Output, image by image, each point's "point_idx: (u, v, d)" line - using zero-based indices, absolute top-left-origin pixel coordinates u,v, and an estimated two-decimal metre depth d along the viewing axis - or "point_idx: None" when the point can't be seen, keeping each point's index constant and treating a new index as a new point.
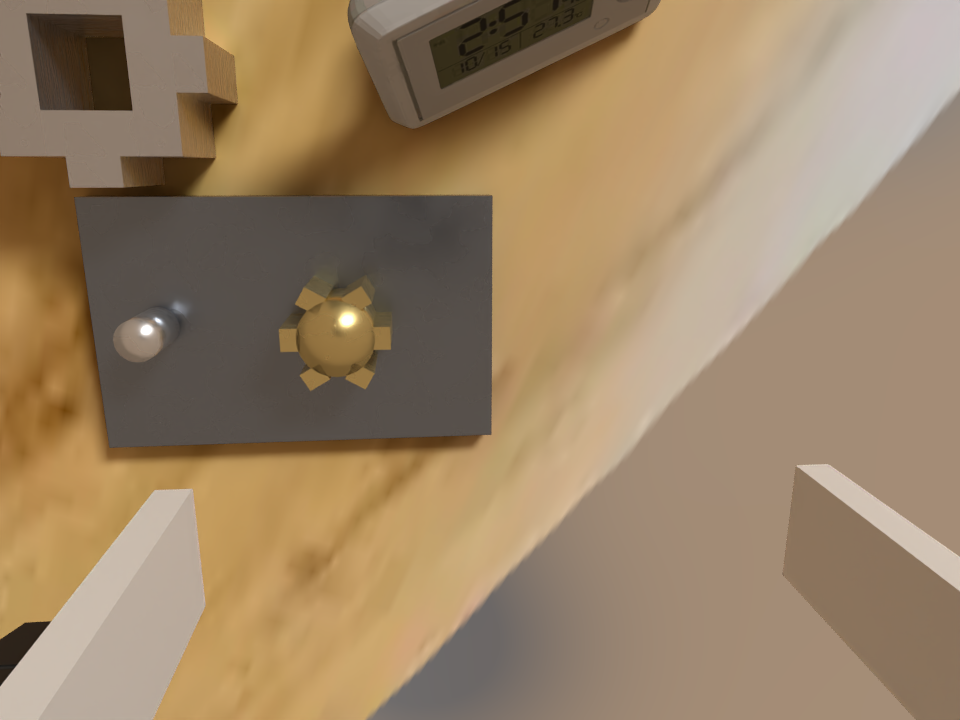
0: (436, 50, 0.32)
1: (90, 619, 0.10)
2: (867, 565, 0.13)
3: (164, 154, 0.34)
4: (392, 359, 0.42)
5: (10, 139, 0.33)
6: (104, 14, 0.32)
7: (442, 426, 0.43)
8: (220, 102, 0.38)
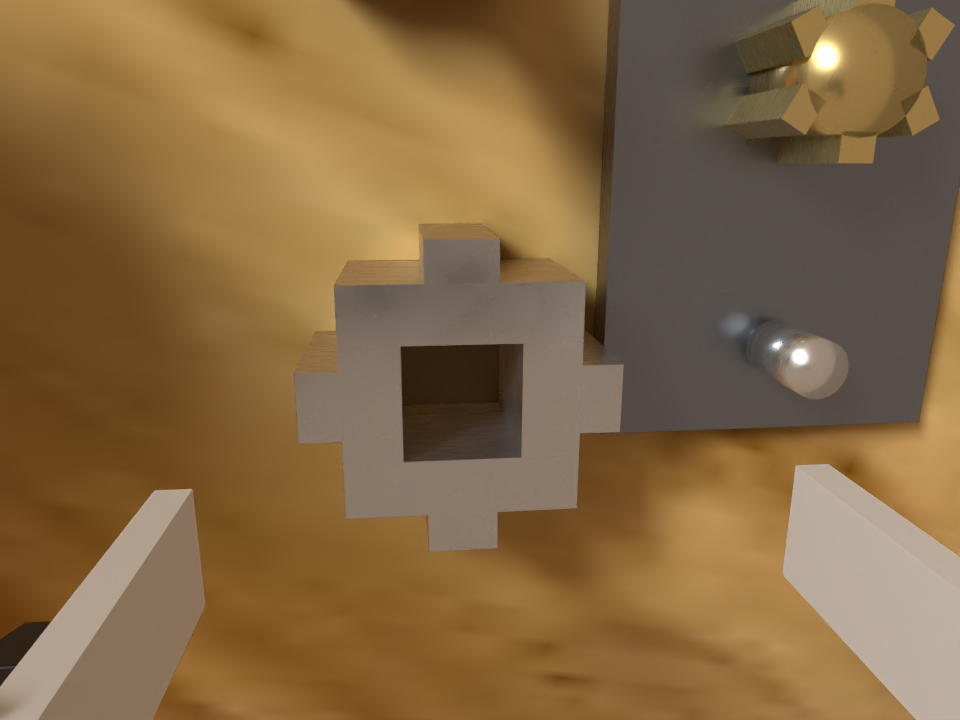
0: None
1: (90, 619, 0.10)
2: (867, 565, 0.13)
3: (582, 306, 0.23)
4: None
5: (556, 495, 0.25)
6: (400, 368, 0.23)
7: None
8: None
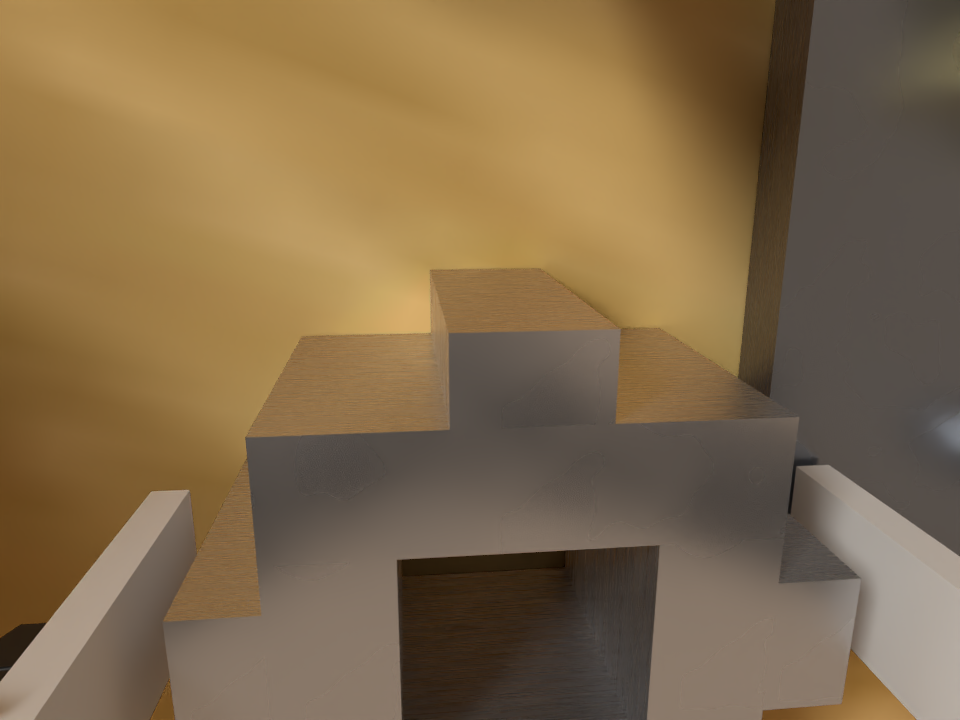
0: None
1: (85, 621, 0.10)
2: (869, 566, 0.13)
3: (788, 468, 0.11)
4: None
5: None
6: (396, 601, 0.11)
7: None
8: None
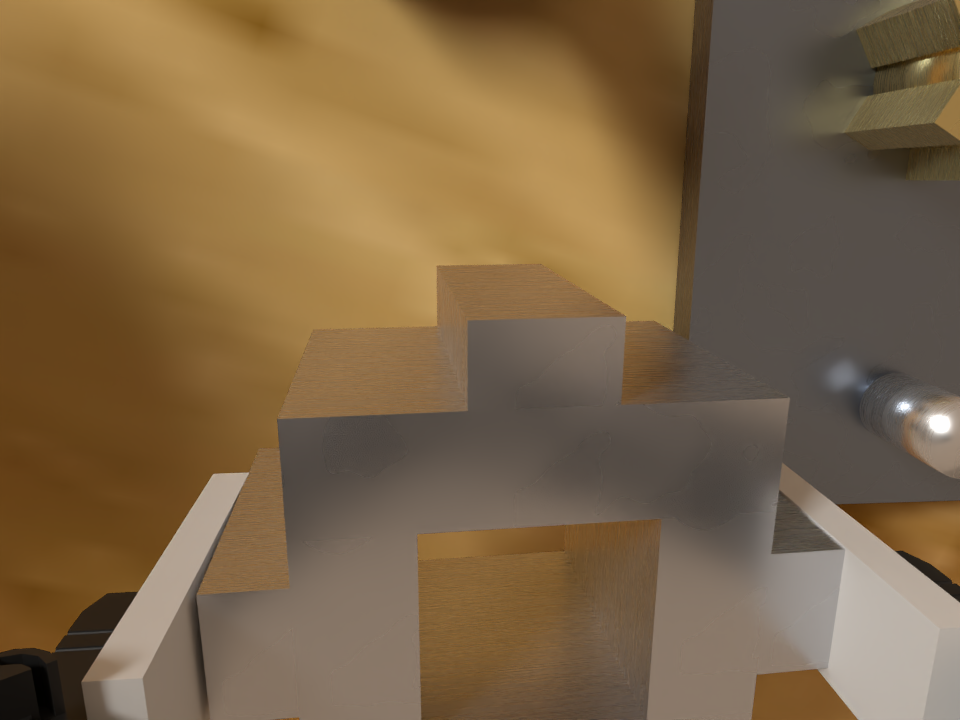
0: None
1: (175, 587, 0.11)
2: None
3: (780, 445, 0.12)
4: None
5: None
6: (416, 574, 0.12)
7: None
8: None
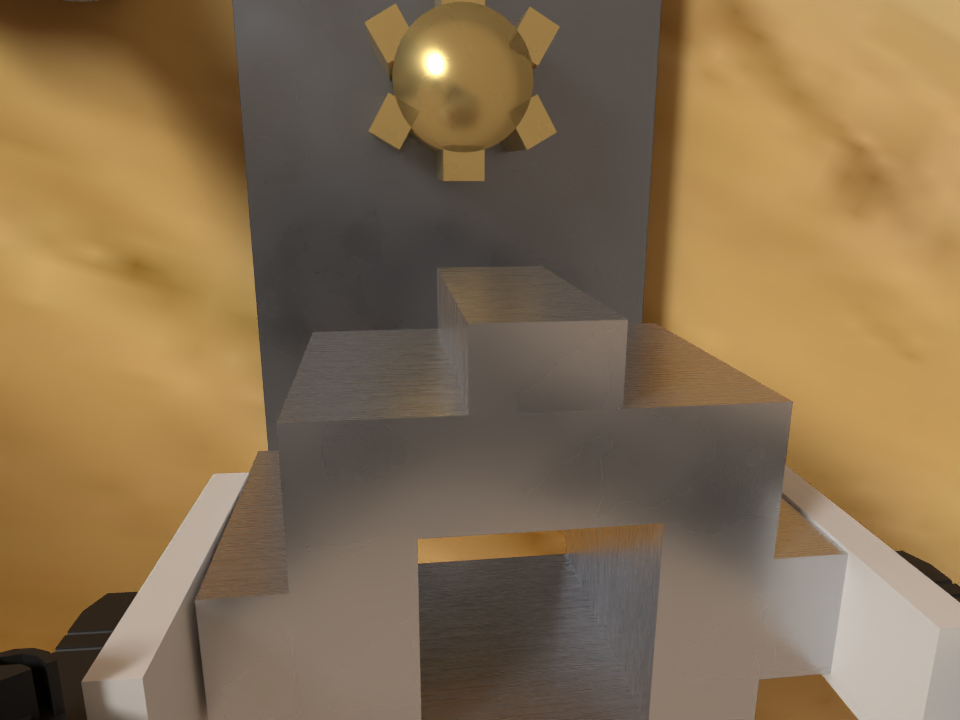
0: None
1: (175, 587, 0.11)
2: None
3: (783, 449, 0.12)
4: (519, 4, 0.24)
5: None
6: (416, 579, 0.11)
7: None
8: None
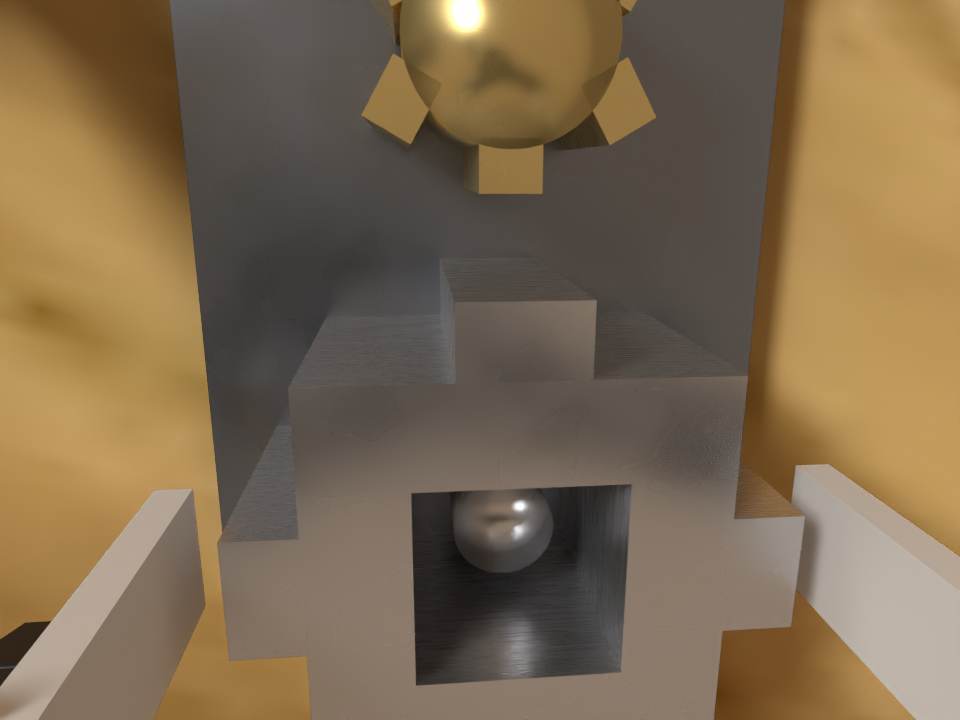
0: None
1: (90, 619, 0.10)
2: (867, 564, 0.13)
3: (740, 419, 0.13)
4: None
5: None
6: (410, 529, 0.13)
7: None
8: None
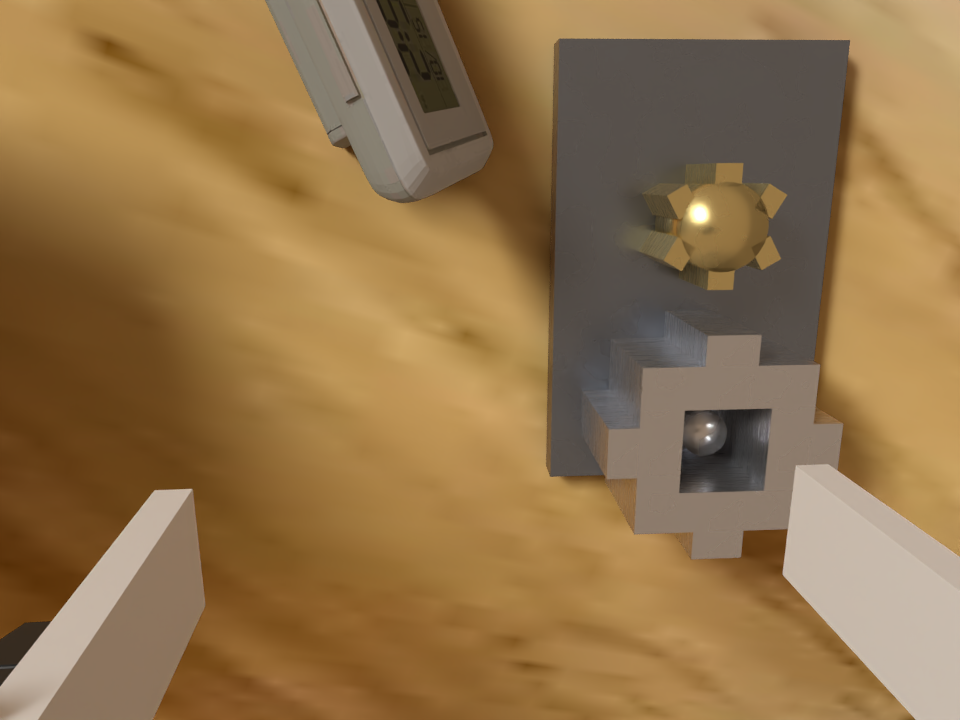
0: (429, 105, 0.29)
1: (90, 619, 0.10)
2: (867, 565, 0.13)
3: (816, 382, 0.32)
4: None
5: (787, 518, 0.34)
6: (682, 425, 0.33)
7: (830, 105, 0.35)
8: None
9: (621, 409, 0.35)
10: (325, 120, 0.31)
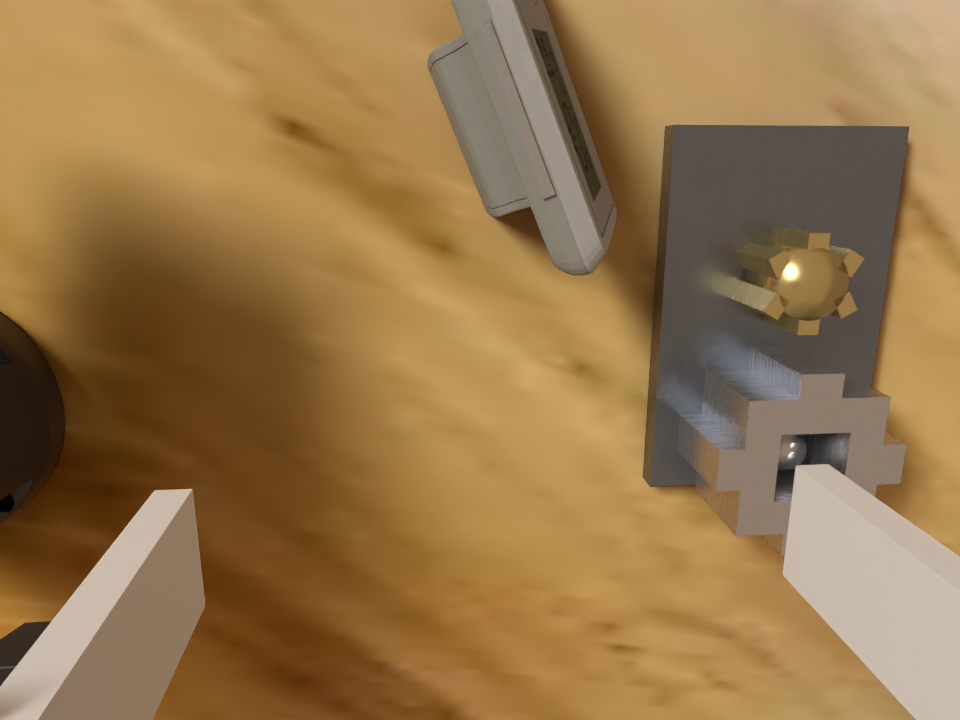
0: (592, 193, 0.35)
1: (90, 619, 0.10)
2: (867, 565, 0.13)
3: (887, 411, 0.40)
4: (818, 227, 0.43)
5: None
6: (779, 447, 0.40)
7: (892, 179, 0.43)
8: None
9: (721, 432, 0.42)
10: (493, 198, 0.38)
